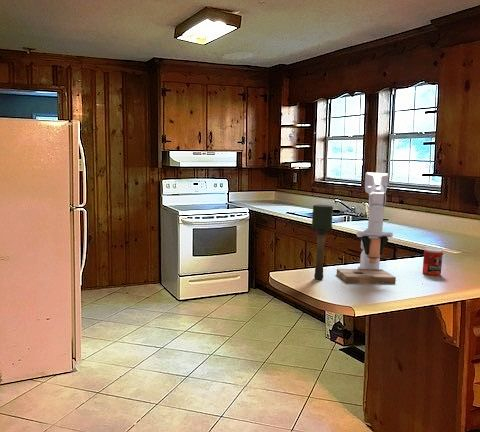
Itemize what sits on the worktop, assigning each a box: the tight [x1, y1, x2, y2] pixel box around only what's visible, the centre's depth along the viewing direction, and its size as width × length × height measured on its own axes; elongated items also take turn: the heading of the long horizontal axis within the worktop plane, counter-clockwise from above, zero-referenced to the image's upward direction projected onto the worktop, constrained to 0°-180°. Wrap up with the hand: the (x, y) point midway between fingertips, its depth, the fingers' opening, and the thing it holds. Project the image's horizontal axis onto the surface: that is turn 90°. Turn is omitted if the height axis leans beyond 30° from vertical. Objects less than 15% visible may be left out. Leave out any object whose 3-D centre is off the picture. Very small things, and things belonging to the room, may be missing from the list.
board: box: [336, 268, 397, 284], centre depth 216 cm, size 14×20×2 cm
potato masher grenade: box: [310, 204, 334, 281], centre depth 211 cm, size 8×9×30 cm
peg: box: [367, 238, 381, 264], centre depth 214 cm, size 5×5×10 cm
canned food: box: [422, 247, 444, 277], centre depth 230 cm, size 8×8×11 cm
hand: (373, 254), depth 215 cm, fingers closed on peg, 5 cm apart
